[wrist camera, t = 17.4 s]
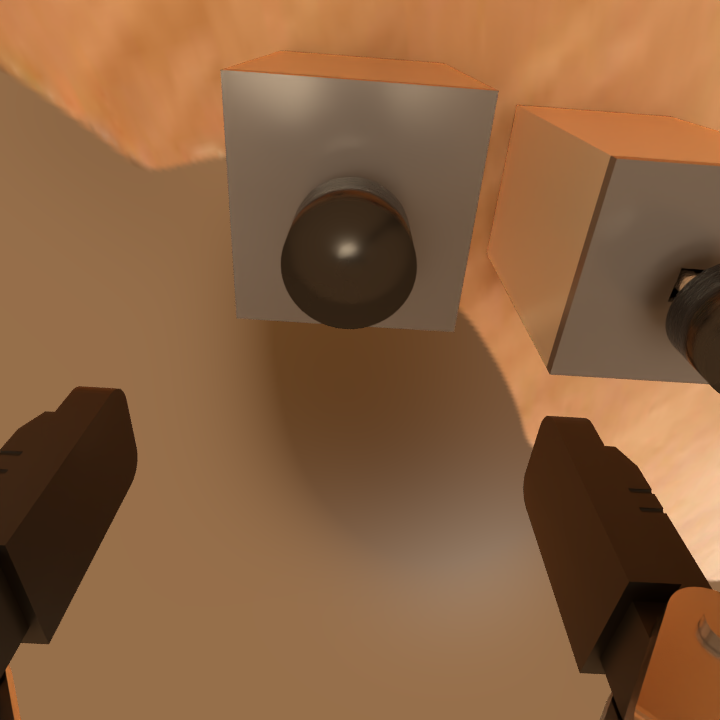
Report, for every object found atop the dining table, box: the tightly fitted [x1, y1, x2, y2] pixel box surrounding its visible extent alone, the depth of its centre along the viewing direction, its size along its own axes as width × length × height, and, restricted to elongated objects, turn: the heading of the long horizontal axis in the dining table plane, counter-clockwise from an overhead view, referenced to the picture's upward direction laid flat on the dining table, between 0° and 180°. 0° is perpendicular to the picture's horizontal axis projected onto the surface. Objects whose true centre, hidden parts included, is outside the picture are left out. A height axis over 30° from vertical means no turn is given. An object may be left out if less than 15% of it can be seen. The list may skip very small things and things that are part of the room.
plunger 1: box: [281, 177, 417, 329], centre depth 25 cm, size 8×8×19 cm
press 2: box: [487, 105, 720, 384], centre depth 30 cm, size 10×10×16 cm
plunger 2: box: [665, 264, 720, 393], centre depth 27 cm, size 8×8×19 cm
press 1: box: [221, 51, 499, 332], centre depth 29 cm, size 10×10×16 cm
